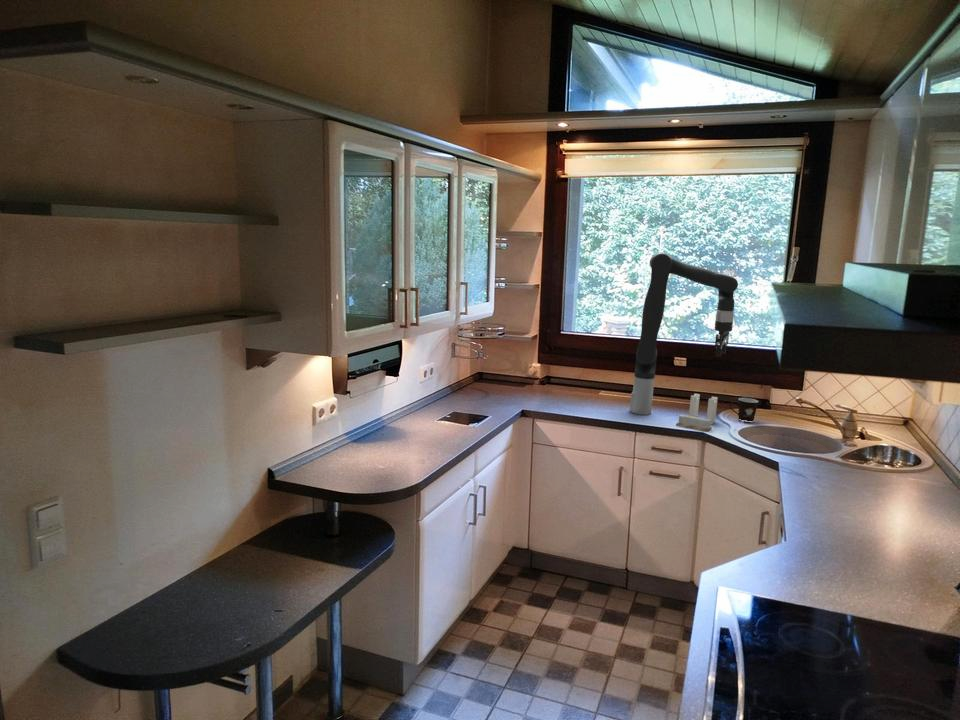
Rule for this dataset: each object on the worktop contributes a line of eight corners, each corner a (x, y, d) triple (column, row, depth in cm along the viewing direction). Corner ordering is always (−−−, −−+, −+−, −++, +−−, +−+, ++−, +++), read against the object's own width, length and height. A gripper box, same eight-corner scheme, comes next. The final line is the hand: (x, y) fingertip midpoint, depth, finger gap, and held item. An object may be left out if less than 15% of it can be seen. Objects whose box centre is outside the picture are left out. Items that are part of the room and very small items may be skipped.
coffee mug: (757, 420, 310) (759, 400, 308) (753, 424, 302) (756, 403, 300) (731, 416, 315) (733, 395, 314) (727, 420, 308) (730, 399, 306)
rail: (678, 423, 296) (679, 415, 295) (680, 421, 299) (681, 414, 298) (708, 429, 289) (708, 421, 288) (710, 427, 292) (711, 419, 291)
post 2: (705, 423, 301) (708, 398, 299) (709, 420, 306) (712, 396, 304) (711, 424, 300) (714, 399, 297) (714, 421, 305) (717, 397, 302)
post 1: (688, 420, 305) (690, 395, 303) (691, 417, 310) (694, 393, 308) (693, 421, 304) (696, 396, 302) (697, 418, 309) (700, 394, 307)
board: (676, 425, 295) (676, 423, 295) (680, 422, 300) (680, 420, 300) (708, 431, 288) (708, 430, 288) (711, 428, 293) (711, 426, 293)
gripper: (719, 318, 309) (716, 352, 312) (711, 320, 297) (707, 356, 300) (736, 319, 305) (732, 354, 308) (728, 322, 293) (724, 358, 296)
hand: (720, 355), depth 304 cm, fingers open, 8 cm apart
